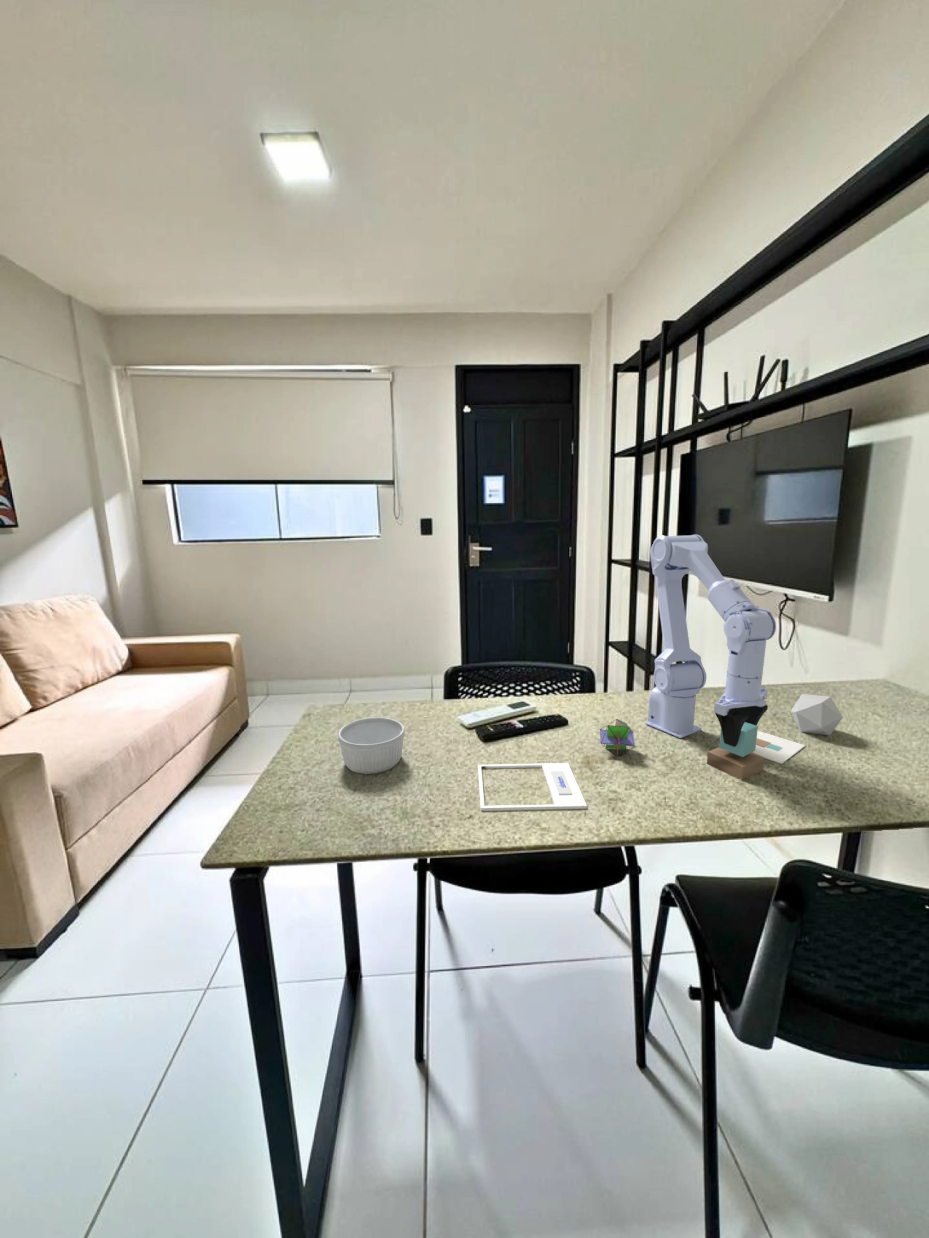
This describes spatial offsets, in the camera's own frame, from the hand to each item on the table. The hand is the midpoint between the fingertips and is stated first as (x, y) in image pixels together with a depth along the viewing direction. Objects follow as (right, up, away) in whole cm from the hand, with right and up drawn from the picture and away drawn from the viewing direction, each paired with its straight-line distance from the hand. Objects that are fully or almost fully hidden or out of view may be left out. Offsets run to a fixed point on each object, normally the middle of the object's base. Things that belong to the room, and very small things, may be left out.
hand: (737, 741), depth 93 cm
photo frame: (-41, -8, -4) cm, 42 cm away
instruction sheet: (+11, -3, +9) cm, 15 cm away
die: (+26, -2, +16) cm, 31 cm away
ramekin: (-71, -6, +6) cm, 72 cm away
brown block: (0, -6, +1) cm, 6 cm away
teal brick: (0, -2, 0) cm, 2 cm away
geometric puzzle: (-21, -4, +8) cm, 23 cm away
